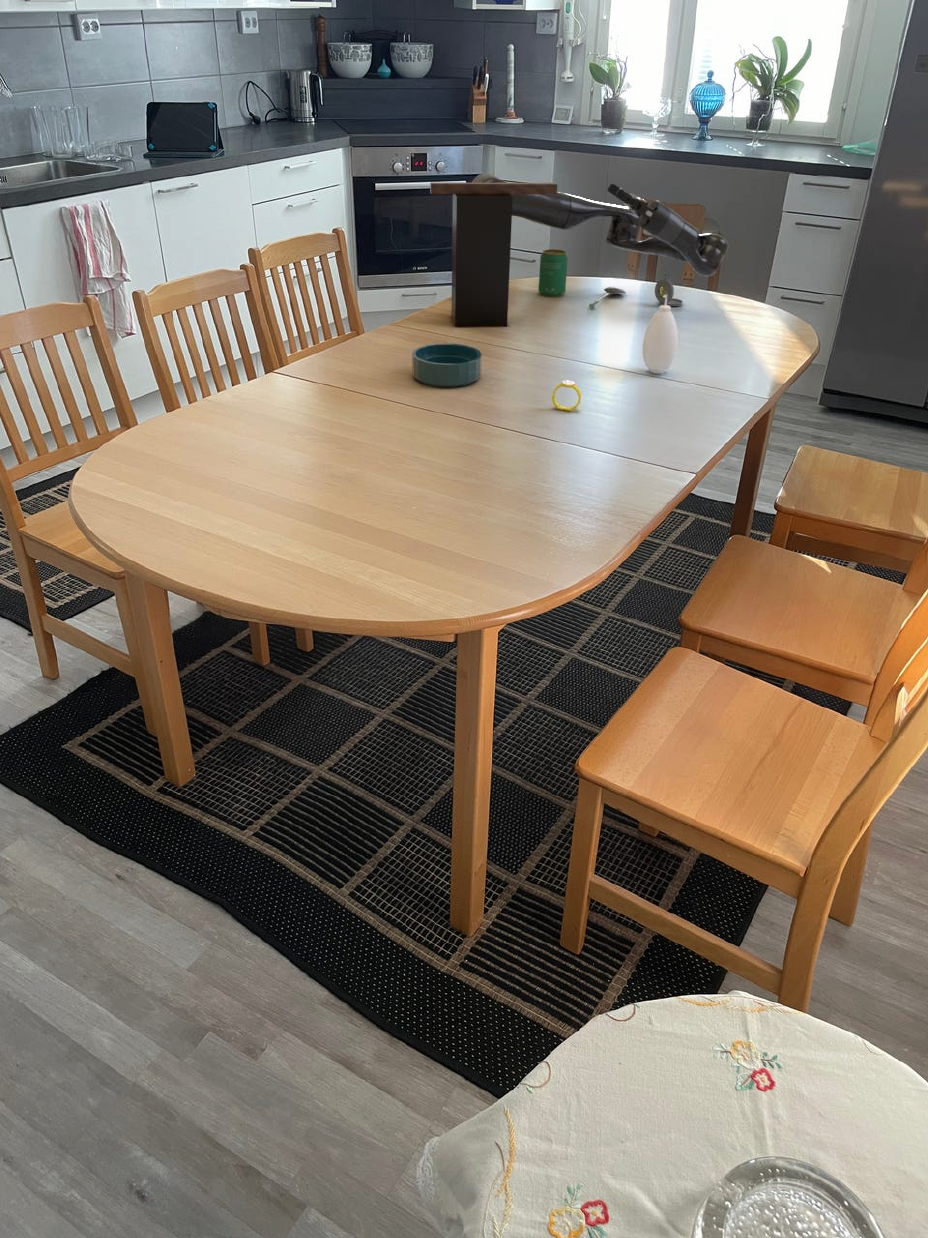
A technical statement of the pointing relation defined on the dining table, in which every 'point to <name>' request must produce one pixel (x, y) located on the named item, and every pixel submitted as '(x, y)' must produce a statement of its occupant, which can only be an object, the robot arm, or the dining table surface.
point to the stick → (492, 188)
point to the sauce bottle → (660, 340)
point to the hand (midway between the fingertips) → (613, 189)
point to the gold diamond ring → (568, 385)
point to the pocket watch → (666, 289)
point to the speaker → (481, 259)
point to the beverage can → (553, 273)
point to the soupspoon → (609, 291)
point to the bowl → (446, 365)
